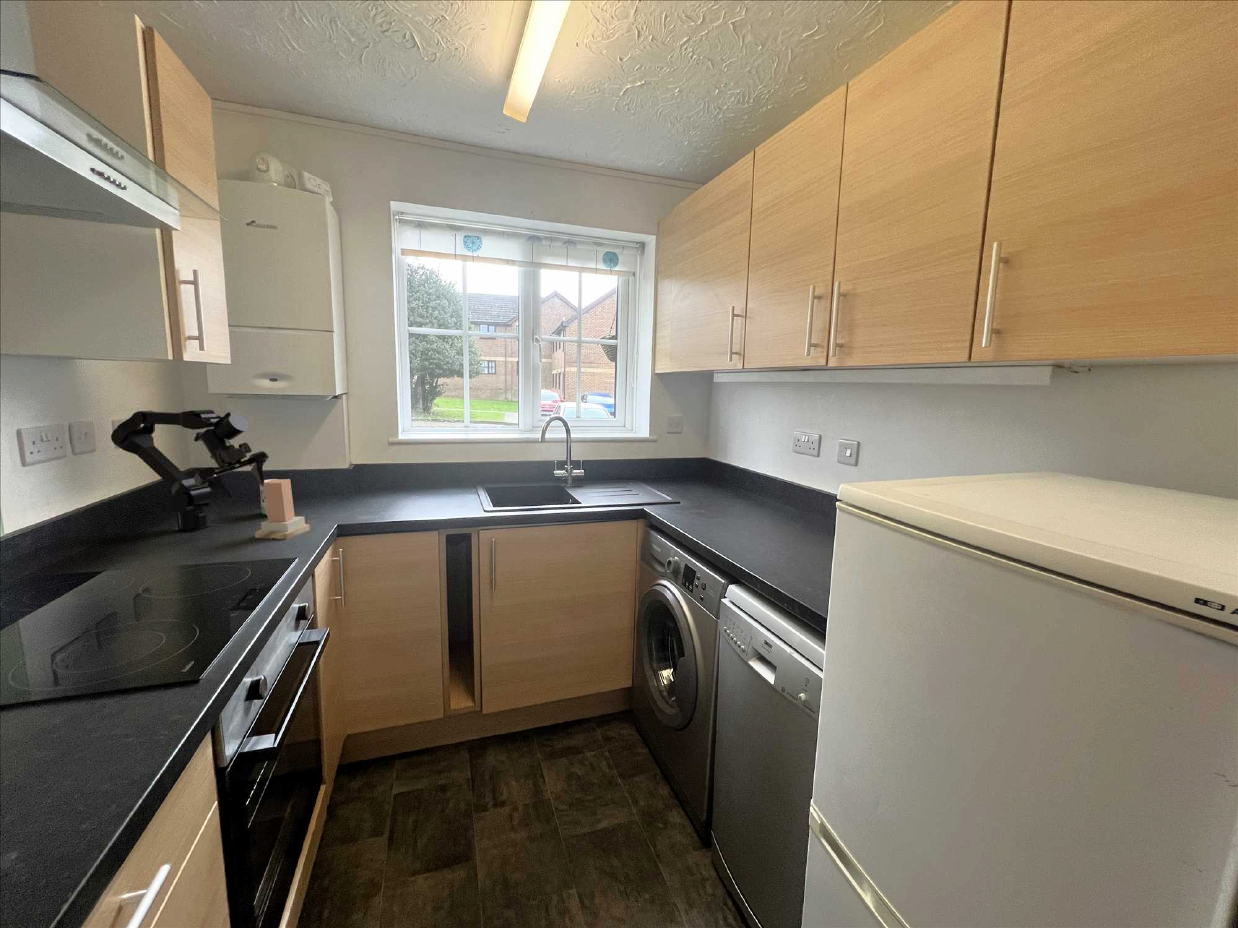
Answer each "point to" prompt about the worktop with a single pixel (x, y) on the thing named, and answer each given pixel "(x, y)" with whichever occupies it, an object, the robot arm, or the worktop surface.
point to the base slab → (282, 533)
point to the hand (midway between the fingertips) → (248, 491)
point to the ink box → (263, 498)
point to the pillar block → (279, 500)
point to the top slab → (283, 525)
